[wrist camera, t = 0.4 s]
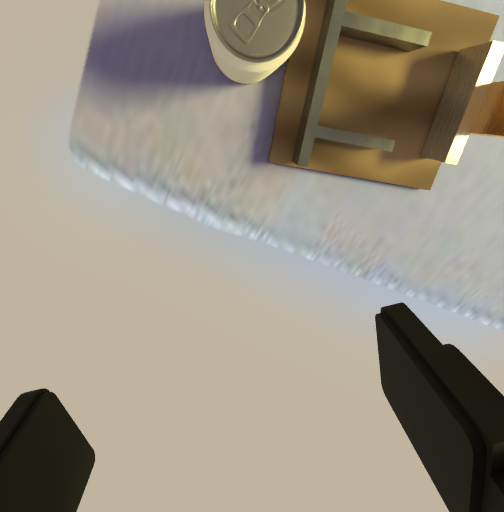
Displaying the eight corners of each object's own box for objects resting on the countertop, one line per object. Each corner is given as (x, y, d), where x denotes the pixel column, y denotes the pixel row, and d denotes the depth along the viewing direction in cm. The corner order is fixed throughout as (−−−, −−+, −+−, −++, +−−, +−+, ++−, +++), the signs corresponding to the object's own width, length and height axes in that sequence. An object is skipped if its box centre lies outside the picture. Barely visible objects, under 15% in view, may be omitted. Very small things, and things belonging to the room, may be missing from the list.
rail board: (304, -29, 28) (307, -35, 27) (489, 19, 30) (499, 15, 29) (268, 160, 34) (269, 162, 33) (423, 187, 37) (429, 190, 35)
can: (295, 42, 30) (335, 4, 19) (248, 100, 32) (260, 94, 21) (243, -18, 28) (254, -100, 17) (196, 46, 30) (178, 9, 19)
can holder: (331, -21, 27) (343, -36, 25) (424, 3, 28) (445, -8, 26) (291, 160, 33) (297, 165, 30) (370, 174, 34) (382, 180, 32)
